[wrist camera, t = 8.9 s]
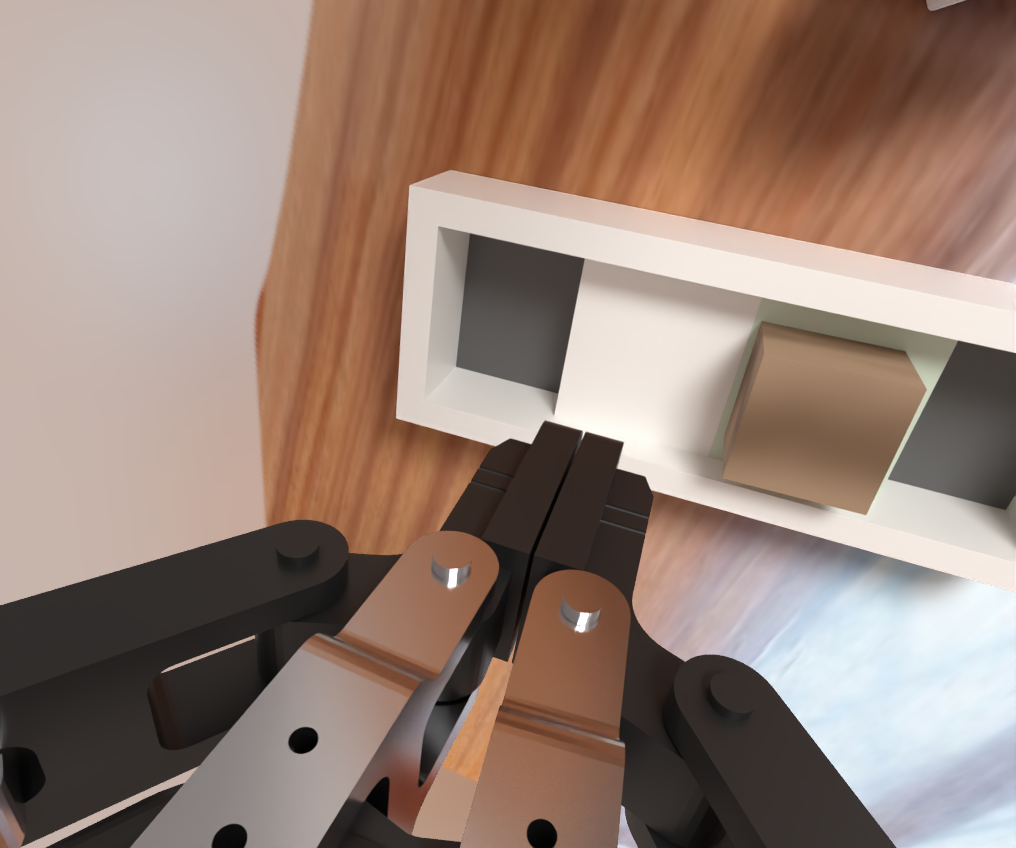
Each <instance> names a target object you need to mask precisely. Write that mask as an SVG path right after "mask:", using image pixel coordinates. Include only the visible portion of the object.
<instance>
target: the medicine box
mask: <svg viewBox="0 0 1016 848" xmlns="http://www.w3.org/2000/svg"><path fill="white" fill-rule="evenodd" d="M962 1H965V0H926V2H927V8H928V9H929V10H930V11H934V10H938V9H941V8H944V7H946V6H949V5H953V4H956V3H959V2H962Z"/></svg>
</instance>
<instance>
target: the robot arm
mask: <svg viewBox="0 0 1016 848" xmlns="http://www.w3.org/2000/svg"><path fill="white" fill-rule="evenodd" d="M582 435H583V431H582V430H578V429H575V428H571V427H568V426H564V425H560V424H557V423H553V422H550V421H546V420H545V421H544V422H543V424H542V425H541V427H540V429H539V431H538V433H537V435H536V437H535V438H534V440H533V442H532V444H529V443H526V442H522V441H519V440H515V439H512V438H509V439H508V440H506V441H504V442H503V443H501V444H499V445H497V446H496V447H494V448H492V449H490V451H489V453H488V454H487V456H486V457H485V459H484V461H483V462H482V464H481V465H480V468H479V469H478V470H477V472H476V473H475V475H474V477H473V478H472V480H471V483H469V485H468V486H467V488H466V489H465V491H464V493H463V494H462V496H461V497H460V499H459V500H458V502H457V504H456V505H455V507H454V508H453V510H452V512H451V513H450V515H449V516H448V518H447V520H446V521H445V523H444V524H443V526H442V528H441V529H440V531H439V532H433V533H430V534H427V535H424V536H422V537H420V538H419V539H417V540H416V541H414V542H413V543H412V544H411V545H410V546H409V547H408V549H407V550H406V551H405V552H404V554H399V555H368V554H353V553H349V548H348V544H347V541H346V539H345V537H344V536H343V535H342V534H341V533H340V532H339V531H338V530H337V529H335V528H334V527H332V526H330V525H328V524H325V523H322V522H318V521H312V520H294V521H288V522H284V523H280V524H276V525H273V526H270V527H266V528H263V529H259V530H256V531H253V532H249V533H246V534H242V535H239V536H235V537H232V538H229V539H225V540H222V541H219V542H215V543H212V544H208V545H205V546H201V547H198V548H195V549H192V550H188V551H184V552H181V553H178V554H174V555H171V556H168V557H164V558H160V559H157V560H154V561H150V562H147V563H144V564H140V565H137V566H133V567H130V568H126V569H123V570H120V571H116V572H113V573H109V574H106V575H103V576H99V577H96V578H92V579H89V580H85V581H82V582H79V583H75V584H72V585H68V586H65V587H62V588H58V589H55V590H52V591H48V592H45V593H41V594H38V595H35V596H31V597H28V598H24V599H21V600H17V601H14V602H10V603H7V604H4V605H0V848H20V847H22V846H24V845H26V844H29V843H31V842H33V841H35V840H37V839H40V838H42V837H44V836H46V835H48V834H51V833H53V832H55V831H57V830H59V829H61V828H64V827H66V826H68V825H70V824H72V823H75V822H77V821H79V820H81V819H83V818H86V817H88V816H90V815H92V814H94V813H96V812H99V811H101V810H103V809H105V808H108V807H110V806H112V805H114V804H116V803H119V802H121V801H123V800H125V799H127V798H129V797H131V796H134V795H136V794H138V793H140V792H143V791H145V790H147V789H149V788H151V787H154V786H156V785H158V784H160V783H162V782H164V781H167V780H169V779H171V778H173V777H176V776H177V775H180V774H182V773H184V772H187V771H189V770H191V769H193V768H195V767H198V766H199V767H198V768H197V769H196V771H195V772H194V773H193V774H192V775H191V777H190V778H189V779H188V780H187V781H186V782H185V783H184V784H180V785H177V786H174V787H172V788H169V789H166V790H163V791H161V792H158V793H156V794H154V795H152V796H150V797H148V798H145V799H143V800H141V801H139V802H137V803H135V804H133V805H131V806H129V807H127V808H125V809H123V810H121V811H119V812H117V813H115V814H113V815H111V816H109V817H107V818H105V819H103V820H101V821H99V822H97V823H95V824H93V825H91V826H88V827H86V828H84V829H82V830H80V831H79V832H77V833H74V834H73V835H70V836H68V837H66V838H64V839H62V840H60V841H58V842H56V843H54V844H52V845H50V846H48V847H46V848H617V845H618V834H619V823H620V811H621V805H622V806H624V807H625V816H626V820H627V824H628V827H629V829H630V832H631V834H632V836H633V838H634V840H635V842H636V844H637V846H638V848H896V847H895V845H894V844H893V843H892V841H891V840H890V839H889V837H888V836H887V835H886V834H885V832H884V831H883V830H882V828H881V827H880V826H879V825H878V823H877V822H876V821H875V819H874V818H873V817H872V815H871V814H870V813H869V812H868V810H867V809H866V808H865V806H864V805H863V804H862V802H861V801H860V800H859V799H858V797H857V796H856V795H855V793H854V792H853V791H852V790H851V788H850V787H849V786H848V784H847V783H846V782H845V780H844V779H843V778H842V777H841V775H840V774H839V773H838V771H837V770H836V769H835V767H834V766H833V765H832V764H831V762H830V761H829V760H828V758H827V757H826V756H825V754H824V753H823V752H822V751H821V749H820V748H819V747H818V745H817V744H816V743H815V742H814V740H813V739H812V738H811V736H810V735H809V734H808V732H807V731H806V730H805V729H804V727H803V726H802V725H801V723H800V722H799V721H798V719H797V718H796V717H795V716H794V714H793V713H792V712H791V710H790V709H789V708H788V706H787V705H786V704H785V703H784V701H783V700H782V699H781V697H780V696H779V695H778V694H777V692H776V691H775V690H774V688H773V687H772V686H771V685H770V684H769V683H768V681H767V680H766V679H764V678H763V677H762V676H761V675H760V674H759V673H758V672H756V671H755V670H753V669H752V668H751V667H749V666H747V665H745V664H744V663H742V662H739V661H737V660H735V659H732V658H729V657H725V656H720V655H701V656H696V657H694V658H691V659H689V660H688V661H686V662H684V661H683V660H681V659H680V658H678V657H677V656H675V655H673V654H672V653H670V652H669V651H667V650H666V649H664V648H663V647H661V646H660V645H658V644H657V643H656V642H655V641H654V640H653V639H651V638H650V637H649V636H648V634H647V633H646V632H645V631H644V630H643V628H642V627H641V626H640V624H639V623H638V621H637V618H636V616H635V614H634V611H633V606H632V596H633V590H634V586H635V581H636V576H637V572H638V567H639V562H640V558H641V553H642V548H643V543H644V539H645V533H646V529H647V525H648V519H649V515H650V511H651V506H652V501H653V494H652V492H651V489H650V487H649V484H648V482H647V479H646V477H645V476H642V475H638V474H635V473H631V472H628V471H624V470H621V469H617V468H618V464H619V460H620V457H621V453H622V449H623V445H624V442H622V441H619V440H615V439H611V438H608V437H604V436H601V435H597V434H593V433H590V432H585V434H584V436H583V439H582ZM253 635H255V639H252V640H250V641H247V642H244V643H242V644H239V645H236V646H234V647H231V648H228V649H226V650H223V651H220V652H218V653H215V654H213V655H210V656H207V657H205V658H202V659H199V660H197V661H194V662H191V663H189V664H186V665H183V666H181V667H178V668H175V669H173V670H170V671H167V672H164V673H161V672H162V671H163V670H165V669H167V668H168V667H171V666H173V665H175V664H178V663H181V662H184V661H186V660H189V659H192V658H194V657H196V656H200V655H202V654H205V653H208V652H210V651H213V650H216V649H218V648H221V647H223V646H226V645H229V644H232V643H234V642H237V641H239V640H242V639H245V638H248V637H250V636H253ZM516 639H517V640H516ZM515 642H516V645H515ZM514 645H515V650H514V655H513V660H512V663H513V667H512V671H511V675H510V678H509V682H508V685H507V689H506V693H505V696H504V700H503V703H502V706H501V705H500V708H499V710H498V714H497V717H496V720H495V724H494V727H493V731H492V734H491V738H490V741H489V745H488V749H487V752H486V756H485V759H484V763H483V766H482V770H481V774H480V777H479V781H478V784H477V788H476V792H475V795H474V799H473V802H472V806H471V809H470V813H469V817H468V820H467V824H466V827H465V831H464V834H463V838H462V842H455V841H446V840H438V839H429V838H420V837H415V836H413V835H412V832H413V828H414V825H415V822H416V818H417V816H418V813H419V811H420V808H421V806H422V804H423V802H424V799H425V797H426V795H427V793H428V791H429V790H430V788H431V786H432V784H433V782H434V780H435V778H436V776H437V774H438V772H439V770H440V768H441V766H442V764H443V762H444V760H445V759H446V757H447V755H448V753H449V751H450V749H451V747H452V745H453V743H454V741H455V739H456V737H457V735H458V733H459V731H460V729H461V728H462V726H463V724H464V722H465V720H466V718H467V716H468V714H469V712H470V710H471V708H472V706H473V704H474V702H475V700H476V698H477V695H478V690H479V685H480V684H481V683H482V681H483V679H484V677H485V674H486V672H487V670H488V667H489V665H490V662H491V660H492V657H495V658H498V659H501V660H504V661H506V662H508V660H509V657H510V655H511V652H512V650H513V647H514Z"/></svg>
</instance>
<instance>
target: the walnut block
mask: <svg viewBox="0 0 1016 848" xmlns="http://www.w3.org/2000/svg"><path fill="white" fill-rule="evenodd" d="M926 391H927V389H926V387H925V385H924V383H923V381H922V380H921V378H920V376H919V374H918V373H917V371H916V369H915V367H914V365H913V364H912V362H911V360H910V358H909V357H908V355H907V353H906V351H902V350H897V349H893V348H888V347H883V346H878V345H874V344H869V343H864V342H859V341H855V340H850V339H845V338H840V337H836V336H831V335H826V334H821V333H817V332H812V331H807V330H802V329H798V328H793V327H788V326H783V325H779V324H774V323H769V322H764V321H761V324H760V327H759V331H758V334H757V337H756V340H755V343H754V346H753V349H752V352H751V355H750V358H749V361H748V364H747V367H746V370H745V373H744V377H743V380H742V383H741V386H740V389H739V392H738V395H737V398H736V401H735V404H734V407H733V410H732V413H731V416H730V419H729V422H728V426H727V429H726V432H725V435H724V450H723V471H722V478H723V479H727V480H731V481H735V482H739V483H743V484H747V485H750V486H754V487H758V488H762V489H766V490H770V491H774V492H778V493H782V494H785V495H789V496H793V497H797V498H801V499H805V500H809V501H813V502H816V503H820V504H824V505H828V506H832V507H836V508H840V509H844V510H847V511H851V512H855V513H859V514H863V515H867V513H868V511H869V509H870V506H871V504H872V502H873V500H874V498H875V496H876V494H877V492H878V490H879V488H880V486H881V484H882V482H883V480H884V477H885V475H886V473H887V471H888V469H889V467H890V465H891V463H892V461H893V459H894V457H895V455H896V453H897V451H898V449H899V446H900V444H901V442H902V440H903V438H904V436H905V434H906V432H907V430H908V428H909V426H910V424H911V422H912V420H913V418H914V415H915V413H916V411H917V409H918V407H919V405H920V403H921V401H922V399H923V397H924V395H925V393H926Z"/></svg>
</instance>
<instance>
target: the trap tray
mask: <svg viewBox="0 0 1016 848" xmlns="http://www.w3.org/2000/svg"><path fill="white" fill-rule="evenodd" d="M761 321H764V322H769V323H774V324H779V325H783V326H788V327H793V328H798V329H802V330H807V331H812V332H817V333H821V334H826V335H831V336H836V337H840V338H845V339H850V340H855V341H859V342H864V343H869V344H874V345H878V346H883V347H888V348H893V349H897V350H902V351H906V353H907V355H908V357H909V358H910V360H911V362H912V364H913V365H914V367H915V369H916V371H917V373H918V374H919V376H920V378H921V380H922V381H923V383H924V385H925V387H926V389H927V391H926V393H925V395H924V397H923V399H922V401H921V403H920V405H919V407H918V409H917V411H916V413H915V415H914V418H913V420H912V422H911V424H910V426H909V428H908V430H907V432H906V434H905V436H904V438H903V440H902V442H901V444H900V446H899V449H898V451H897V453H896V455H895V457H894V459H893V461H892V463H891V465H890V467H889V469H888V471H887V473H886V475H885V477H884V480H883V482H882V484H881V486H880V488H879V490H878V492H877V494H876V496H875V498H874V500H873V502H872V504H871V506H870V509H869V511H868V513H867V515H863V514H859V513H855V512H851V511H847V510H844V509H840V508H836V507H832V506H828V505H824V504H820V503H816V502H813V501H809V500H805V499H801V498H797V497H793V496H789V495H785V494H782V493H778V492H774V491H770V490H766V489H762V488H758V487H754V486H750V485H747V484H743V483H739V482H735V481H731V480H727V479H723V478H722V471H723V450H724V435H725V432H726V429H727V426H728V422H729V419H730V416H731V413H732V410H733V407H734V404H735V401H736V398H737V395H738V392H739V389H740V386H741V383H742V380H743V377H744V373H745V370H746V367H747V364H748V361H749V358H750V355H751V352H752V349H753V346H754V343H755V340H756V337H757V334H758V331H759V327H760V324H761ZM396 418H397V419H400V420H404V421H407V422H411V423H414V424H418V425H422V426H425V427H429V428H432V429H436V430H439V431H443V432H446V433H450V434H454V435H457V436H461V437H464V438H468V439H471V440H475V441H479V442H482V443H486V444H489V445H493V446H497V445H499V444H501V443H503V442H504V441H506V440H508V439H509V438H512V439H515V440H519V441H522V442H526V443H529V444H532V442H533V440H534V438H535V437H536V435H537V433H538V431H539V429H540V427H541V425H542V424H543V422H544V421H545V420H546V421H550V422H553V423H557V424H560V425H564V426H568V427H571V428H575V429H578V430H582V431H583V435H582V439H583V436H584V434H585V432H590V433H593V434H597V435H601V436H604V437H608V438H611V439H615V440H619V441H622V442H624V445H623V449H622V453H621V457H620V460H619V464H618V468H617V469H621V470H624V471H628V472H631V473H635V474H638V475H642V476H645V477H646V479H647V482H648V484H649V487H650V489H651V490H653V491H656V492H660V493H664V494H667V495H671V496H674V497H678V498H681V499H685V500H689V501H692V502H696V503H699V504H703V505H706V506H710V507H713V508H717V509H721V510H724V511H728V512H731V513H735V514H738V515H742V516H745V517H749V518H753V519H756V520H760V521H763V522H767V523H770V524H774V525H778V526H781V527H785V528H788V529H792V530H795V531H799V532H802V533H806V534H810V535H813V536H817V537H820V538H824V539H827V540H831V541H834V542H838V543H842V544H845V545H849V546H852V547H856V548H859V549H863V550H866V551H870V552H874V553H877V554H881V555H884V556H888V557H891V558H895V559H899V560H902V561H906V562H909V563H913V564H916V565H920V566H923V567H927V568H931V569H934V570H938V571H941V572H945V573H948V574H952V575H955V576H959V577H963V578H966V579H970V580H973V581H977V582H980V583H984V584H988V585H991V586H995V587H998V588H1002V589H1005V590H1009V591H1012V592H1016V284H1013V283H1008V282H1003V281H998V280H993V279H988V278H984V277H979V276H974V275H969V274H964V273H959V272H954V271H949V270H944V269H939V268H934V267H929V266H924V265H919V264H914V263H909V262H904V261H899V260H894V259H889V258H885V257H880V256H875V255H870V254H865V253H860V252H855V251H850V250H845V249H840V248H835V247H830V246H825V245H820V244H815V243H810V242H805V241H800V240H795V239H790V238H786V237H781V236H776V235H771V234H766V233H761V232H756V231H751V230H746V229H741V228H736V227H731V226H726V225H721V224H716V223H711V222H706V221H701V220H696V219H691V218H687V217H682V216H677V215H672V214H667V213H662V212H657V211H652V210H647V209H642V208H637V207H632V206H627V205H622V204H617V203H612V202H607V201H602V200H597V199H592V198H588V197H583V196H578V195H573V194H568V193H563V192H558V191H553V190H548V189H543V188H538V187H533V186H528V185H523V184H518V183H513V182H508V181H503V180H498V179H493V178H489V177H484V176H479V175H474V174H469V173H464V172H459V171H454V170H449V171H446V172H443V173H441V174H438V175H435V176H433V177H430V178H427V179H425V180H422V181H419V182H417V183H414V184H411V185H409V202H408V219H407V236H406V254H405V271H404V288H403V305H402V323H401V340H400V357H399V374H398V392H397V409H396Z"/></svg>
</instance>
